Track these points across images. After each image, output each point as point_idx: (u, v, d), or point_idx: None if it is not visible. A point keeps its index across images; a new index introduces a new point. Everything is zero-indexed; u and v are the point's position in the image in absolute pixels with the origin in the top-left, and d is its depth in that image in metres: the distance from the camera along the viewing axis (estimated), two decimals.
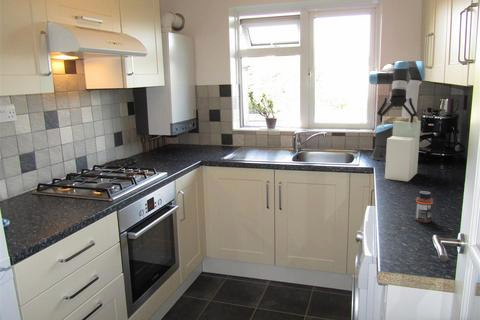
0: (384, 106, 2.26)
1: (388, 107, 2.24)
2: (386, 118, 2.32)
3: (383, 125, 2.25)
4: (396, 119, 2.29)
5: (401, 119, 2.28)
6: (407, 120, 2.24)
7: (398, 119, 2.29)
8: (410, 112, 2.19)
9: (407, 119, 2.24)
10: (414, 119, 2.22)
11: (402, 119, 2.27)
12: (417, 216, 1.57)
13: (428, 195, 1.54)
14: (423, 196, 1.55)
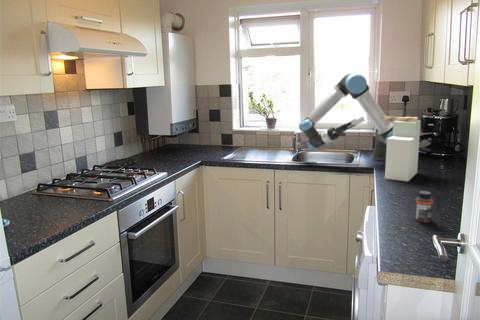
0: None
1: None
2: (386, 118, 2.32)
3: (361, 119, 2.48)
4: (396, 119, 2.29)
5: (401, 119, 2.28)
6: (407, 120, 2.24)
7: (398, 119, 2.29)
8: (344, 129, 2.41)
9: (407, 119, 2.24)
10: (414, 119, 2.22)
11: (402, 119, 2.27)
12: (417, 216, 1.57)
13: (428, 195, 1.54)
14: (423, 196, 1.55)
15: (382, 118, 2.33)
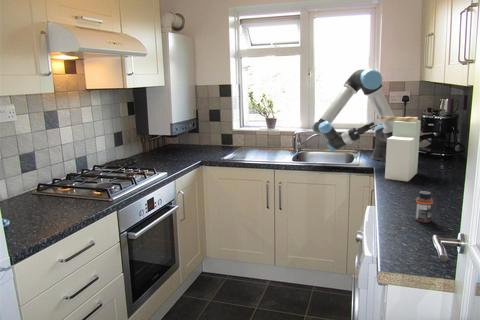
0: None
1: None
2: (386, 118, 2.32)
3: None
4: (396, 119, 2.29)
5: (401, 119, 2.28)
6: (407, 120, 2.24)
7: (398, 119, 2.29)
8: (366, 129, 2.33)
9: (407, 119, 2.24)
10: (414, 119, 2.22)
11: (402, 119, 2.27)
12: (417, 216, 1.57)
13: (428, 195, 1.54)
14: (423, 196, 1.55)
15: (382, 118, 2.33)
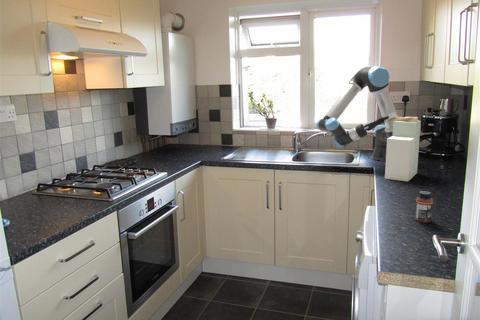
0: None
1: (377, 125, 2.39)
2: None
3: None
4: (396, 119, 2.29)
5: (401, 119, 2.28)
6: (407, 120, 2.24)
7: (398, 119, 2.28)
8: (380, 123, 2.33)
9: (407, 119, 2.24)
10: (414, 119, 2.22)
11: (402, 119, 2.27)
12: (417, 216, 1.57)
13: (428, 195, 1.54)
14: (423, 196, 1.55)
15: (382, 118, 2.33)
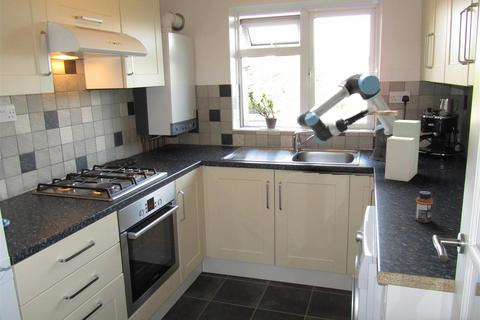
0: None
1: (357, 119, 2.33)
2: None
3: None
4: (376, 113, 2.24)
5: (381, 113, 2.22)
6: (386, 114, 2.19)
7: (378, 113, 2.23)
8: (360, 117, 2.28)
9: (386, 113, 2.19)
10: (393, 113, 2.17)
11: (382, 113, 2.22)
12: (417, 216, 1.57)
13: (428, 195, 1.54)
14: (423, 196, 1.55)
15: None
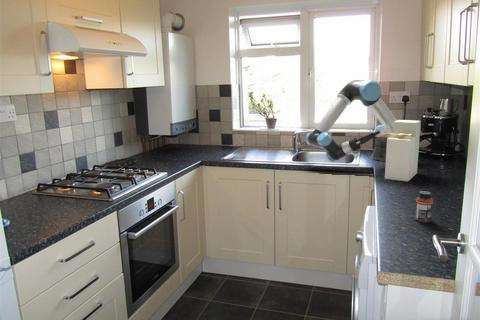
0: None
1: None
2: (380, 134, 2.25)
3: (387, 128, 2.27)
4: (390, 136, 2.22)
5: (395, 136, 2.20)
6: (401, 137, 2.17)
7: (392, 136, 2.21)
8: None
9: (401, 136, 2.17)
10: (408, 136, 2.15)
11: (396, 136, 2.20)
12: (417, 216, 1.57)
13: (428, 195, 1.54)
14: (423, 196, 1.55)
15: None
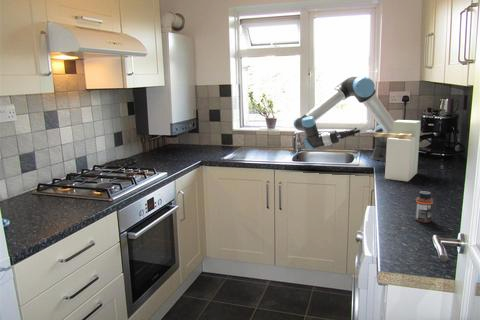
0: None
1: None
2: (380, 134, 2.25)
3: (365, 128, 2.40)
4: (390, 136, 2.22)
5: (395, 136, 2.20)
6: (401, 137, 2.17)
7: (392, 136, 2.21)
8: (351, 135, 2.31)
9: (401, 136, 2.17)
10: (408, 136, 2.15)
11: (396, 136, 2.20)
12: (417, 216, 1.57)
13: (428, 195, 1.54)
14: (423, 196, 1.55)
15: (375, 134, 2.26)
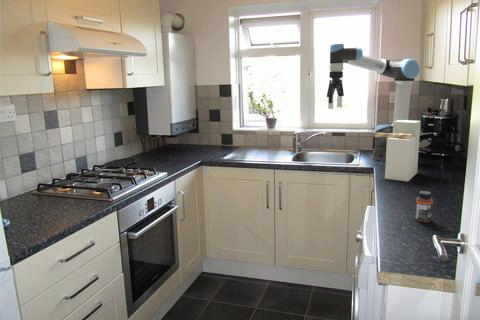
0: None
1: None
2: (380, 134, 2.25)
3: (339, 105, 2.46)
4: (390, 136, 2.22)
5: (395, 136, 2.20)
6: (401, 137, 2.17)
7: (392, 136, 2.21)
8: None
9: (401, 136, 2.17)
10: (408, 136, 2.15)
11: (396, 136, 2.20)
12: (417, 216, 1.57)
13: (428, 195, 1.54)
14: (423, 196, 1.55)
15: (375, 134, 2.26)
